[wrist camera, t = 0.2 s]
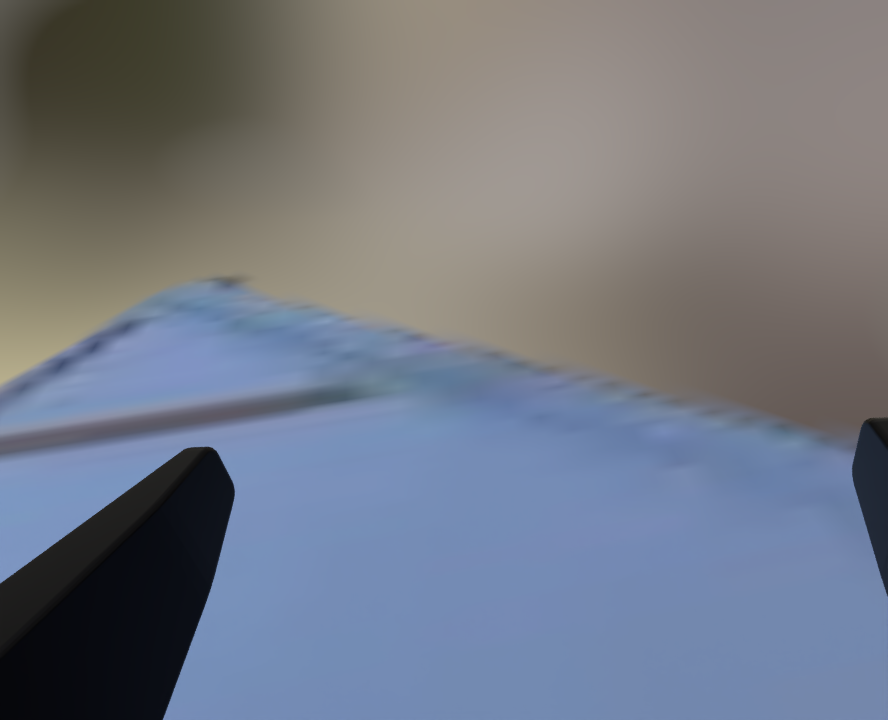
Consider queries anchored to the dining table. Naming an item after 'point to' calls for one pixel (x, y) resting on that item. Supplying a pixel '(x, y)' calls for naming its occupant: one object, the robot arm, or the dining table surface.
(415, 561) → the dining table surface
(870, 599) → the dining table surface
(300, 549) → the dining table surface
